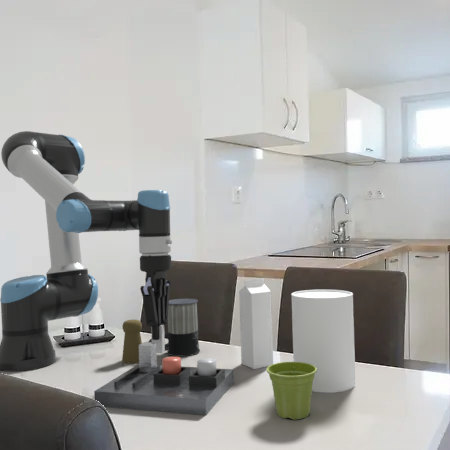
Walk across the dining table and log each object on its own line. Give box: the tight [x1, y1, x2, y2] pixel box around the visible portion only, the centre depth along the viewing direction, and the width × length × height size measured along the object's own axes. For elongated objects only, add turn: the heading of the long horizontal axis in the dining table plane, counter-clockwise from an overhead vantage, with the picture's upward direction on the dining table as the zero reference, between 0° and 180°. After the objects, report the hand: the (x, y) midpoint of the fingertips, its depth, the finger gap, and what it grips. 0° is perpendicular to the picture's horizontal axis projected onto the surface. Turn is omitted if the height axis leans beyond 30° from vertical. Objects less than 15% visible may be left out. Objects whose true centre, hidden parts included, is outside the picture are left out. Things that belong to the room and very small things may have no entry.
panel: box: [93, 363, 235, 416], centre depth 109 cm, size 24×20×5 cm
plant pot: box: [266, 361, 317, 420], centre depth 95 cm, size 9×9×9 cm
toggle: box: [138, 341, 158, 372], centre depth 116 cm, size 3×3×6 cm
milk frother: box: [147, 298, 201, 357], centre depth 146 cm, size 14×16×15 cm
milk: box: [238, 277, 274, 370], centre depth 129 cm, size 6×6×22 cm
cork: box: [121, 319, 143, 365], centre depth 137 cm, size 6×6×11 cm
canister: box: [291, 289, 356, 393], centre depth 113 cm, size 14×14×20 cm
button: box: [162, 356, 182, 375], centre depth 109 cm, size 4×4×3 cm
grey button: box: [196, 357, 217, 377], centre depth 107 cm, size 4×4×3 cm
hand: (158, 352), depth 122 cm, fingers closed
